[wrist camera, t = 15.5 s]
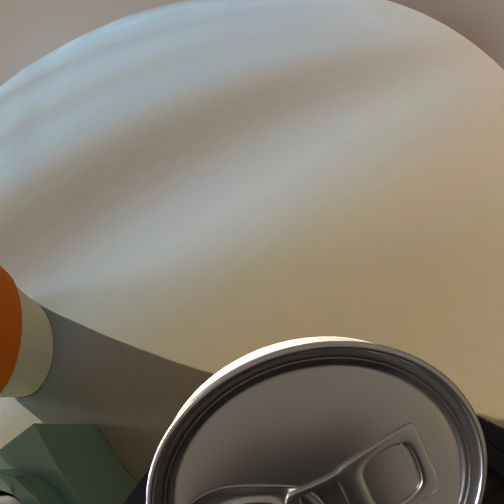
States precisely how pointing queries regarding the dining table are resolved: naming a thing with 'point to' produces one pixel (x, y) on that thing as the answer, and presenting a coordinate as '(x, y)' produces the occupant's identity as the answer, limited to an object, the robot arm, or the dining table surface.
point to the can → (323, 432)
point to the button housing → (63, 467)
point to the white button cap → (9, 500)
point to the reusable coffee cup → (22, 341)
